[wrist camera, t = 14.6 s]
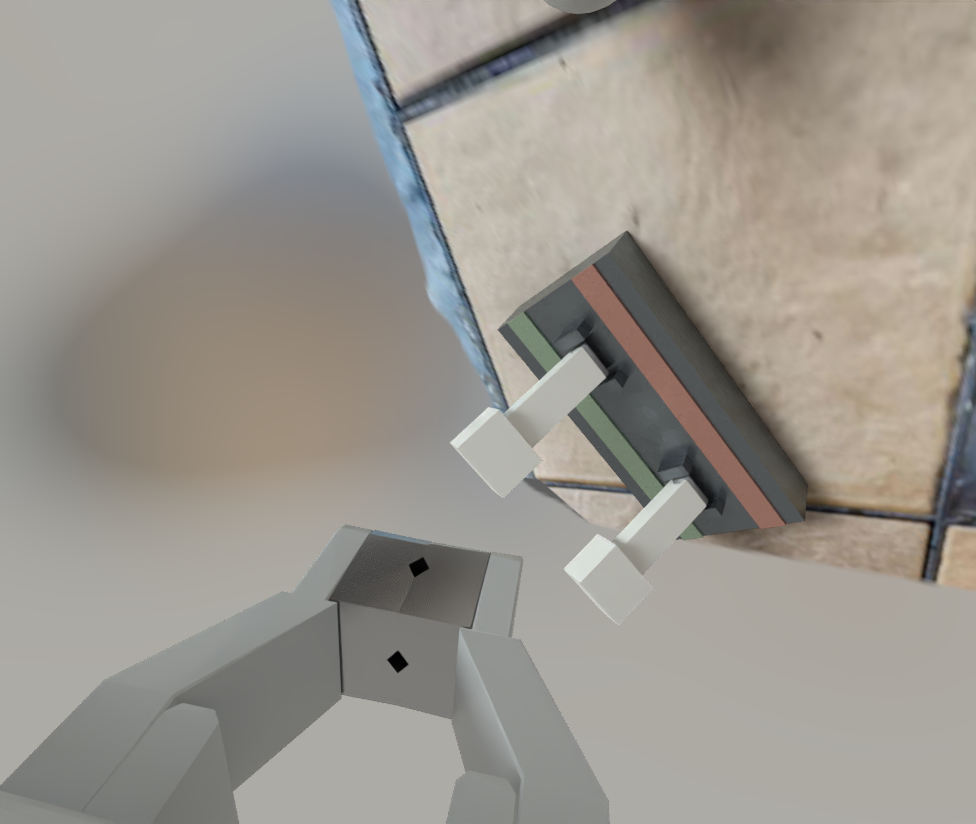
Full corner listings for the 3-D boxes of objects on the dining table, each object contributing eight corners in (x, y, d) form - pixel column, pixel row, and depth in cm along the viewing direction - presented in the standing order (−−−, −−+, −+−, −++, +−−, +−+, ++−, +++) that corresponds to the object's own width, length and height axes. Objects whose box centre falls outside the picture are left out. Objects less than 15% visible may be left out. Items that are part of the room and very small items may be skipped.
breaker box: (626, 230, 37) (602, 260, 33) (808, 485, 42) (803, 534, 39) (518, 307, 45) (489, 338, 42) (680, 510, 51) (667, 551, 48)
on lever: (691, 466, 40) (579, 583, 38) (724, 510, 41) (618, 626, 39) (668, 461, 43) (563, 569, 41) (700, 502, 44) (600, 609, 42)
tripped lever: (585, 329, 37) (457, 448, 35) (624, 381, 38) (502, 498, 36) (568, 333, 40) (449, 442, 38) (605, 381, 41) (492, 489, 39)
